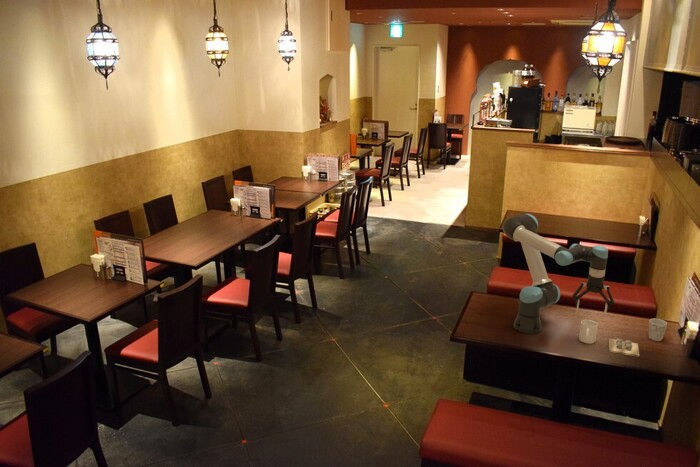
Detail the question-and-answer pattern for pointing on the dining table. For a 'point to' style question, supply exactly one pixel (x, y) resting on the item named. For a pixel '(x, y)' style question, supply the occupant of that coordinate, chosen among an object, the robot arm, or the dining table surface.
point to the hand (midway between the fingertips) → (590, 313)
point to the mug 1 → (588, 331)
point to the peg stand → (623, 347)
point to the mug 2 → (657, 329)
